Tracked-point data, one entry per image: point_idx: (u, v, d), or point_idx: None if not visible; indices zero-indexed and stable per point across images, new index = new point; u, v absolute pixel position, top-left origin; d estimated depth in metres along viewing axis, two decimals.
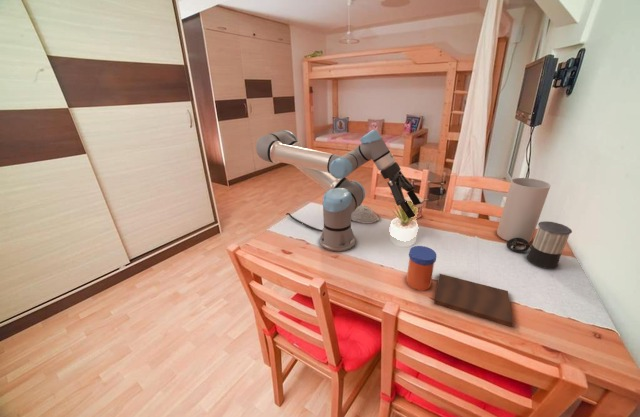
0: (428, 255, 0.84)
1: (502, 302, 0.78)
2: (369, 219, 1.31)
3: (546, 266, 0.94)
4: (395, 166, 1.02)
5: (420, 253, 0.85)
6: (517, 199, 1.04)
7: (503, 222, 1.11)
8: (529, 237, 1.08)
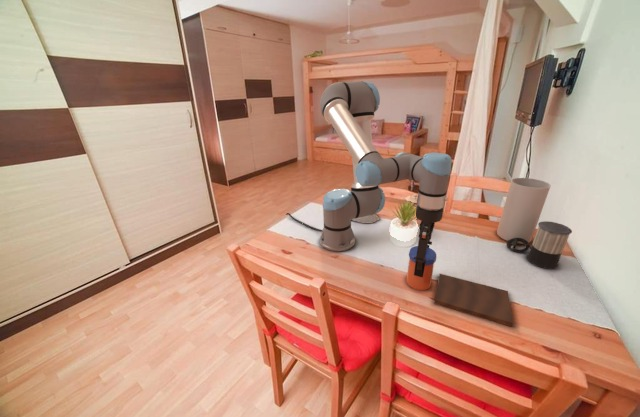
0: (428, 255, 0.84)
1: (502, 302, 0.78)
2: (369, 219, 1.31)
3: (546, 266, 0.94)
4: (440, 214, 0.76)
5: None
6: (517, 199, 1.04)
7: (503, 222, 1.11)
8: (529, 237, 1.08)
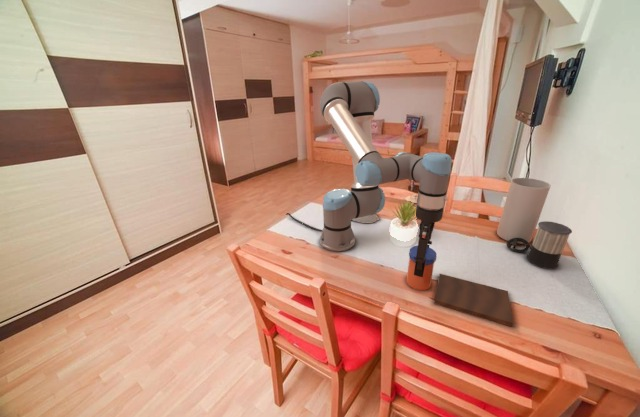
0: None
1: (502, 302, 0.78)
2: (369, 219, 1.31)
3: (546, 266, 0.94)
4: (440, 214, 0.76)
5: (426, 252, 0.85)
6: (517, 199, 1.04)
7: (503, 222, 1.11)
8: (529, 237, 1.08)
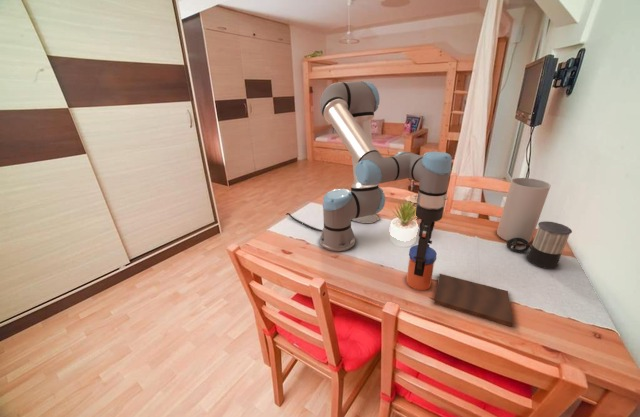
0: None
1: (502, 302, 0.78)
2: (369, 219, 1.31)
3: (546, 266, 0.94)
4: (440, 213, 0.76)
5: None
6: (517, 199, 1.04)
7: (503, 222, 1.11)
8: (529, 237, 1.08)
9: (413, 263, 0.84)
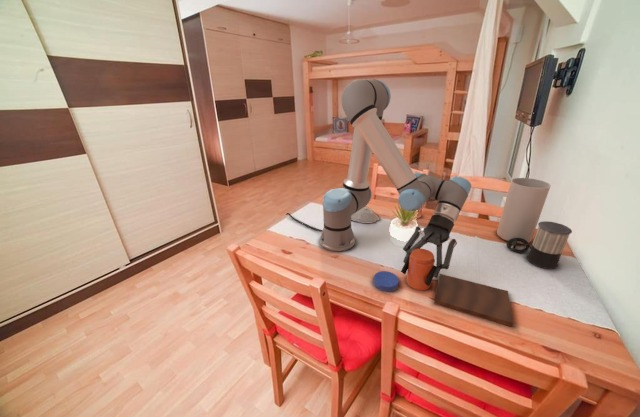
0: (390, 276, 0.90)
1: (502, 302, 0.78)
2: (369, 219, 1.31)
3: (546, 266, 0.94)
4: (434, 217, 0.88)
5: (387, 280, 0.89)
6: (517, 199, 1.04)
7: (503, 222, 1.11)
8: (529, 237, 1.08)
9: (413, 263, 0.84)
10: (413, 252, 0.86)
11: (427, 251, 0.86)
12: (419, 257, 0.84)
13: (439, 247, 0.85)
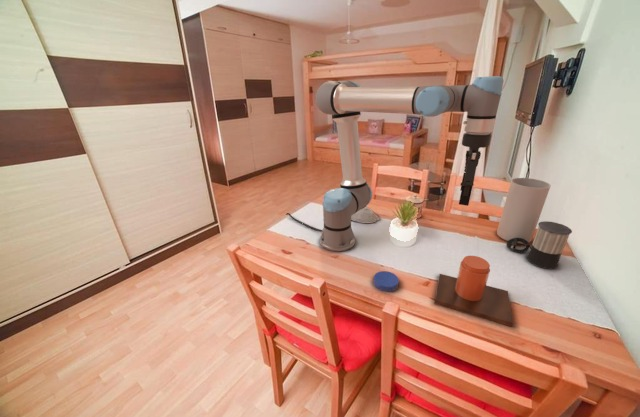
0: (390, 276, 0.90)
1: (502, 302, 0.78)
2: (369, 219, 1.31)
3: (546, 266, 0.94)
4: None
5: (387, 280, 0.89)
6: (517, 199, 1.04)
7: (503, 222, 1.11)
8: (529, 237, 1.08)
9: (466, 272, 0.77)
10: (465, 260, 0.79)
11: (481, 259, 0.79)
12: (473, 265, 0.77)
13: (466, 166, 0.81)
